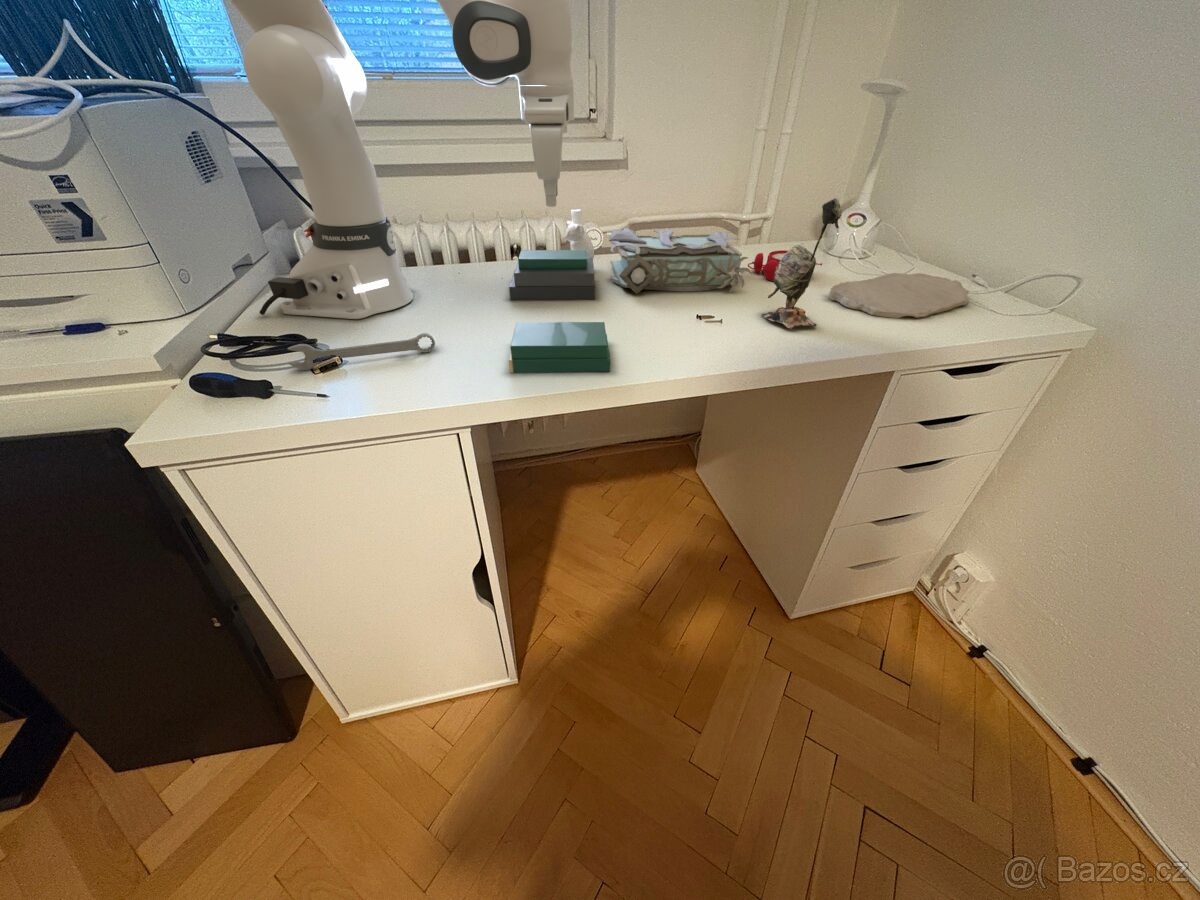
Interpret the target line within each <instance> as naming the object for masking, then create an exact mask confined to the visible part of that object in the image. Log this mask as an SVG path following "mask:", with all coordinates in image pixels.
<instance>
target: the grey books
mask: <svg viewBox="0 0 1200 900" xmlns="http://www.w3.org/2000/svg"><path fill="white" fill-rule="evenodd" d="M594 265H595V264H594V257H593V258H587V270H519V263H518V261H517V262H516V266H515V268H514V270H513V274H512V277H511V279H510V283H509V286H508V290H509V299H510V301H540V300H541V301H556V300H557V301H566V300H567V301H575V300H576V301H577V300H578V301H580V300H582V301H585V300H586V301H589V300H590V301H595V300H596V283H595V281H596V277H595V276H596V275H595V267H594Z"/></svg>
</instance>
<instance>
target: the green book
mask: <svg viewBox="0 0 1200 900" xmlns="http://www.w3.org/2000/svg"><path fill="white" fill-rule="evenodd" d="M517 262H518V263H519V270H587V254H586V250H571V249H552V250H551V249H520V253H519V255H518V259H517Z"/></svg>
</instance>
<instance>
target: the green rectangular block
mask: <svg viewBox="0 0 1200 900" xmlns="http://www.w3.org/2000/svg"><path fill="white" fill-rule="evenodd" d="M509 347H510V352H509V353H510V354H509V357H508V367H509V373H511V374H513V373H514V374H516V373H517V374H518V373H519V374H520V373H523V374H525V373H610V372H611V356H610V348H609V347H610V346H609V340H608V335H607V330H606V323H605V321H542V322H541V321H538V322H537V321H535V322H534V321H533V322H531V321H530V322H527V321H526V322H525V321H522V322H520V321H519V322H515V325H514V330H513V334H512V339H511V342H510V346H509Z"/></svg>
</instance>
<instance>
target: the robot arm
mask: <svg viewBox="0 0 1200 900" xmlns="http://www.w3.org/2000/svg"><path fill="white" fill-rule="evenodd" d="M228 1H229V2H230V3H231V4H232V5H233V6H234V8H235V9H236V10H237V11H238V12H239V14H240V15H241V16H242V17H243V19H244V20H245V21H246V22H247V24H248V25H249V26H250V28H251V29H252V30H253V32H254V34H253V35H252V36H250V38H249V39H248V40H247V42H246V44H245V46H244V50H243V58H242V59H243V69H244V73H245V76H246V79H247V82H248V83H249V86H250V87H251V89H252V91H253V92H254V95H256V97H257V98H258V99H259V100H260V102H261V103H262V104H263V105H264V106H265V107H266V108H267V109H268V111H269V112H270V114H271V116H272V117H273V120H274V121H275V124H276V125H277V127H278V129H279V131H280V133H281V135H282V137H283V139H284V140H285V143H286V144H287V147H288V148H289V150H290V152H291V154H292V156H293V158H294V161H295V163H296V165H297V167H298V169H299V172H300V175H301V179H302V181H303V183H304V186H305V190H306V193H307V196H308V199H309V202H310V205H311V209H312V211H313V214H314V218H315V220H314V222H313V223H312V224H311V225H309V226H308V227H307V228H306V229H304V230H303V233H306V234H305V236H304V237H305V239H307V238H310V239H311V240H312V246H311V247H310V249H308V251H307V252H306V253H305V254H304V255H303V256H302V257H301V258H300V259H299V261H297V262H296V264H295V265H294V266H293V267H292V268H291V270H290V271H289V274H288V277H286V276H285V277H284V276H277V277H274V278H272V279H270V280H268V281H267V283H268V286H269V288H270V290H271V293H272V296H270V297H269V298H268V299H267V300H265V302H264V304H263V305H262V307H261V308H260V310H259V314H260V315H261V316H262V315H263V316H264V315H265V314H266V313H267V310H268V309H269V307H270V306H271V305H272V304H273V303H275V301H277V299H279V298H281V299H282V298H283V299H284V300H283V301H282V303H281V305H280V307H281V311H282V313H283V314H285V315H296V316H307V317H320V318H321V317H322V318H335V319H347V320H361V319H365V318H367V317H370V316H373V315H376V314H381V313H384V312H385V313H386V312H388V311H393V310H396V309H399V308H402V307H403V306H406V305H408V304H409V303H410V302H412V300H413V299H414V294H413V291H412V290H411V288H410V285H409V284H408V281H407V280H406V278H405V275H404V273H403V270H402V268H401V264H400V262H399V259H398V255H397V253H396V251H397V245H396V239H395V234H394V230H393V228H392V225H391V222H390V221H391V220H390V218H389V217H388V216H387V215H386V211H385V207H384V202H383V197H382V194H381V193H382V192H381V190H380V189H381V188H380V184H379V180H378V176H377V172H376V168H375V166H374V163H373V161H372V160H371V159H370V156H369V155H368V153H367V150H366V148H365V145H364V142H363V140H362V139H361V136H360V133H359V130H358V128H357V126H356V122H355V119H354V117H355V116H356V115H357V114H358V113H359V112H360V111H361V110H362V108H363V106H364V104H365V101H366V99H367V96H368V95H367V94H368V80H367V77H366V74H365V71H364V68H363V67H362V65H361V63H360V62H359V61H358V58H357V57H356V56H355V55H354V53H353V51H352V50H351V48H350V47H349V45H348V43H347V42H346V41H347V40H345V38H344V36H343V34H342V33H341V30H340V29H339V27H338V25H337V24H336V22H335V20H334V19H333V17H332V15H331V14H330V12H329V10H328V9H327V7H326V5H325V4H324V2H323V1H322V0H228ZM435 1H436V3H437V4H438V6H439V8H440V9H441V11H442V12H443V14H444V16H445V18H446V19H447V22H448V23H449V26H450V28H451V30H452V43H453V48H454V52H455V55H456V57H457V59H458V61H459V62H460V64H461V66H462V67H463V68H464V70H465V72H466V73H467V74H468V75H469V76H470V77H471V79H472V80H473V81H475V82H476V83H478V84H479V85H482V86H484V87H488V88H497V87H501V86H503V85H505V84H506V83H508V82H509V81H510V79H511V78H512V77H515V78H516V79H517V82H518V93H519V104H520V105H519V106H520V118H521V121H522V122H525V124H526V125H529V135H530V141H531V147H532V155H533V162H534V168H535V171H536V176H537V178H538V180H541V181H543V189H544V195H545V205H546V207H548V208H549V207H550V208H551V207H553V208H554V207H556V206H557V196H558V195H559V189H558V188H559V187H558V185H559V184H558V182H559V179H560V177H561V171H562V160H563V157H562V153H563V136H564V134H566V133H567V132H568V123H569V122H573V121H575V97H574V93H575V92H574V81H573V76H572V72H571V61H572V56H573V31H572V30H573V29H572V16H571V9H570V1H569V0H435Z"/></svg>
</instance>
